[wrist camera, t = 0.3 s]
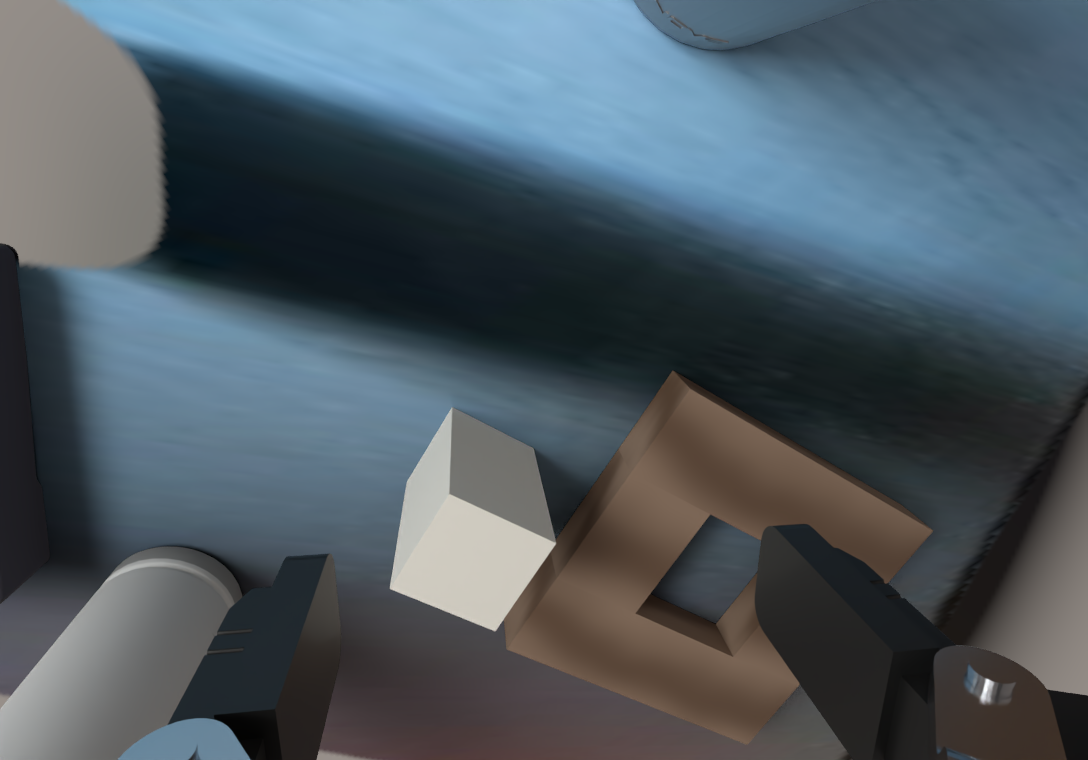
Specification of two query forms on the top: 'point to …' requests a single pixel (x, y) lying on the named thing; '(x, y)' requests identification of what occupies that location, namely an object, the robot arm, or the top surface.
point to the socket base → (660, 537)
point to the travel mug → (120, 659)
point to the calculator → (17, 445)
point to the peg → (472, 523)
